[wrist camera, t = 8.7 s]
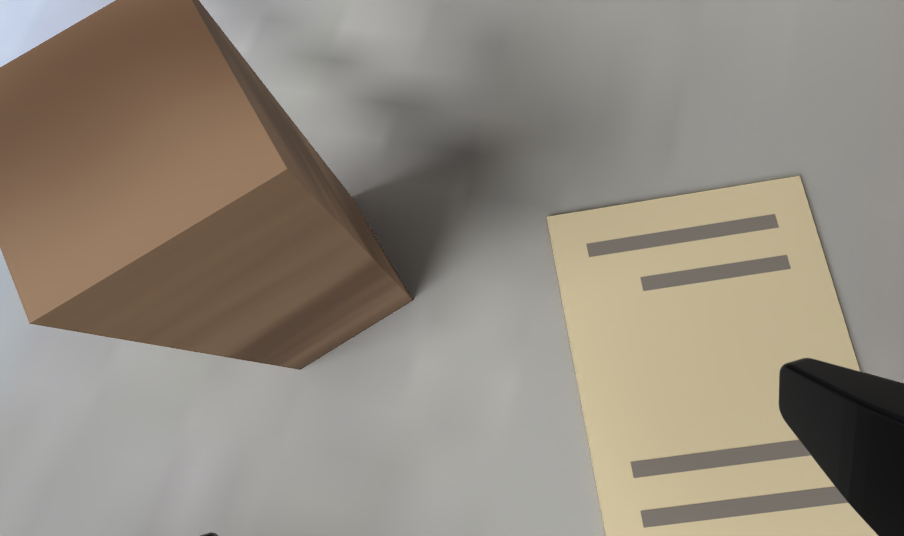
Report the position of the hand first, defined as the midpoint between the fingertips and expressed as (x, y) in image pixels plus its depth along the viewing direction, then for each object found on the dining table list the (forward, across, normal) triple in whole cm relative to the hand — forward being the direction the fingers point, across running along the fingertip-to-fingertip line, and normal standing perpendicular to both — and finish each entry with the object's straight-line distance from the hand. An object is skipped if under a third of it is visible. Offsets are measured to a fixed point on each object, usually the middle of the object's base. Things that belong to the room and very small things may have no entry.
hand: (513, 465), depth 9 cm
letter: (+8, -8, +6) cm, 13 cm away
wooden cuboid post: (+14, +4, +2) cm, 14 cm away
